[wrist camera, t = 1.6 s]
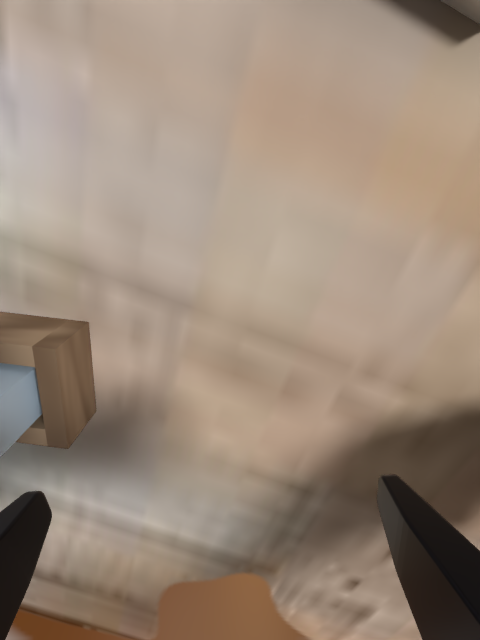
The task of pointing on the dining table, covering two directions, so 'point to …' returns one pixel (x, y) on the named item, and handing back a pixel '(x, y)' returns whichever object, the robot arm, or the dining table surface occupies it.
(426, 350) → the dining table surface
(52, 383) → the rack
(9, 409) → the light blue tall bar
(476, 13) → the picture frame
